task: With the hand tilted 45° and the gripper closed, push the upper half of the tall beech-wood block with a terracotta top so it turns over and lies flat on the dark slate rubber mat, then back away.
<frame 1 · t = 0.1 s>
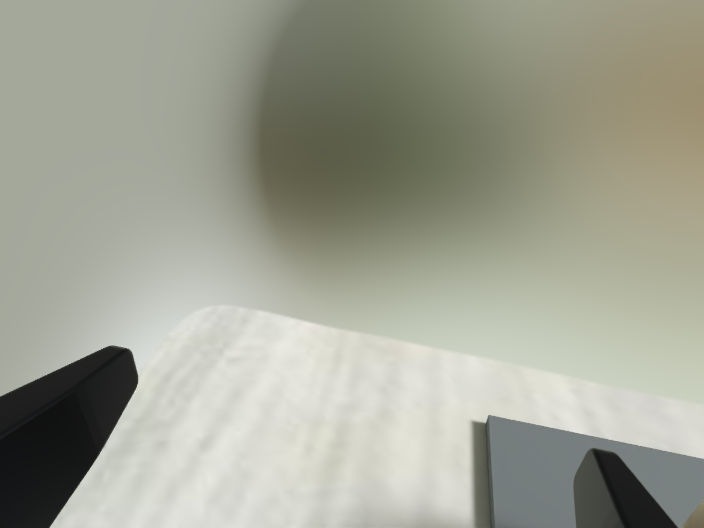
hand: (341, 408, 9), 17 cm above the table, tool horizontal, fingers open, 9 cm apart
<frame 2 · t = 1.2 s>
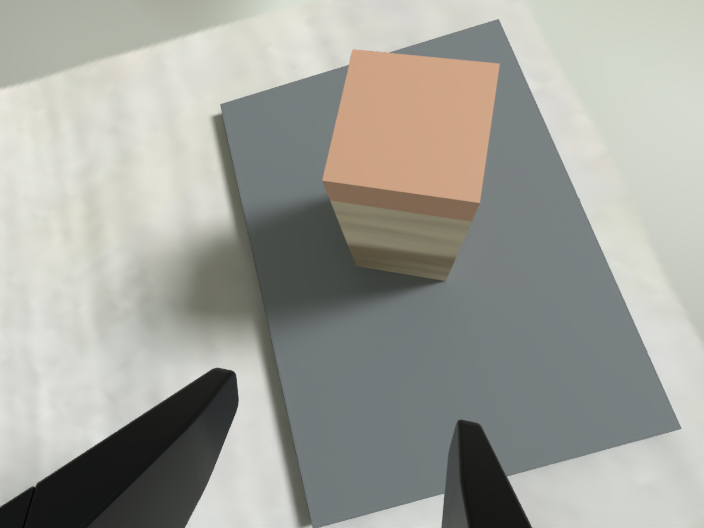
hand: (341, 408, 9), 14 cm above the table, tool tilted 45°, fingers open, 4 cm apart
slate mat: (416, 247, 24), on the table
beech block: (407, 230, 23), point 1 cm above the table, touching slate mat
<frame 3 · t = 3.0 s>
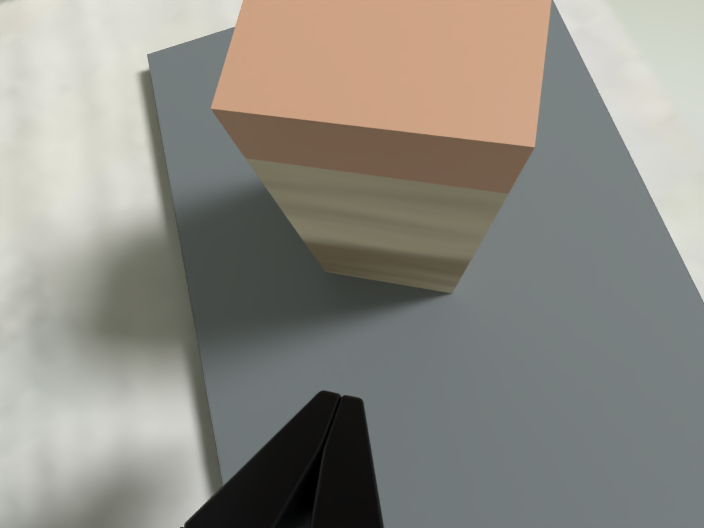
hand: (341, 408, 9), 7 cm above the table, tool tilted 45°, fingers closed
slate mat: (410, 245, 17), on the table
beech block: (398, 222, 16), point 1 cm above the table, touching slate mat
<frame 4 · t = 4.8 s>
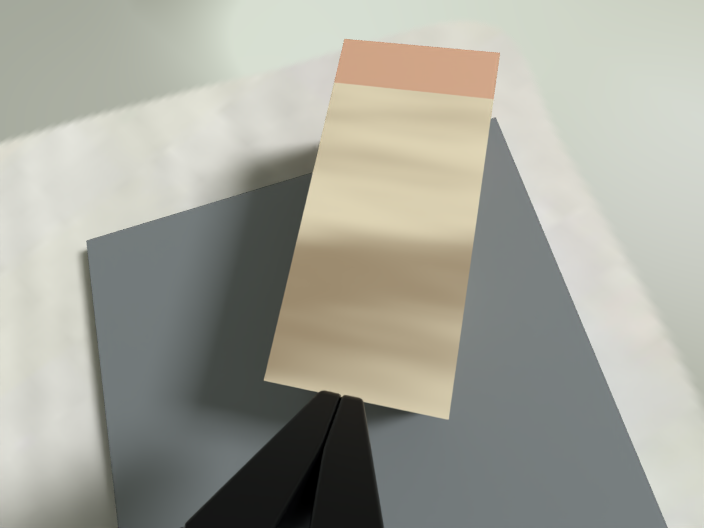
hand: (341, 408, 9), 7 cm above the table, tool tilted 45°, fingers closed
slate mat: (369, 485, 15), on the table
beech block: (361, 397, 13), point 3 cm above the table, tilted 90°, touching slate mat
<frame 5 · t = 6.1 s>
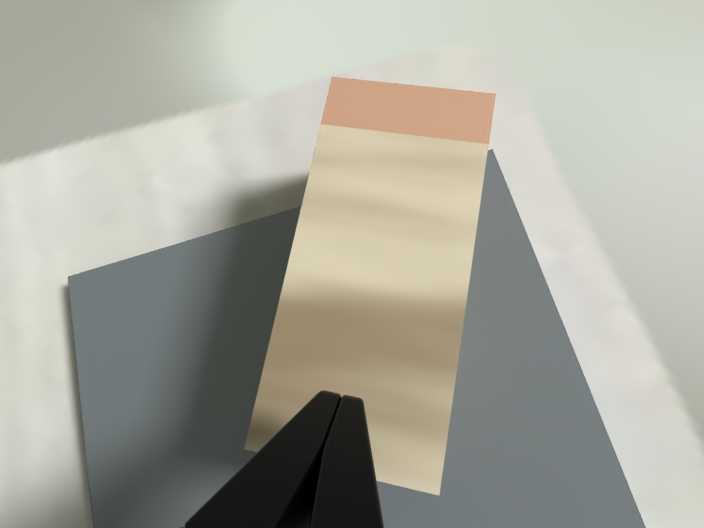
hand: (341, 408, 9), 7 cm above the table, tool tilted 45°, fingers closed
beech block: (349, 455, 12), point 3 cm above the table, tilted 90°, touching slate mat
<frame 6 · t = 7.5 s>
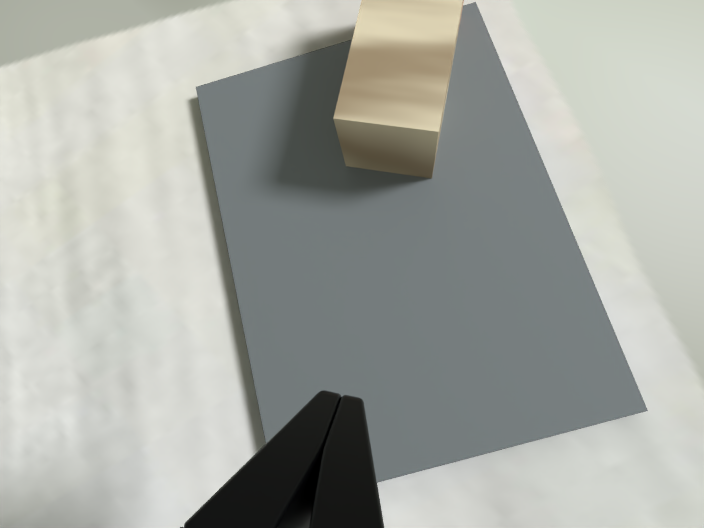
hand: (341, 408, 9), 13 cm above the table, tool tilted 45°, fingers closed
slate mat: (389, 230, 23), on the table
beech block: (386, 151, 21), point 3 cm above the table, tilted 90°, touching slate mat
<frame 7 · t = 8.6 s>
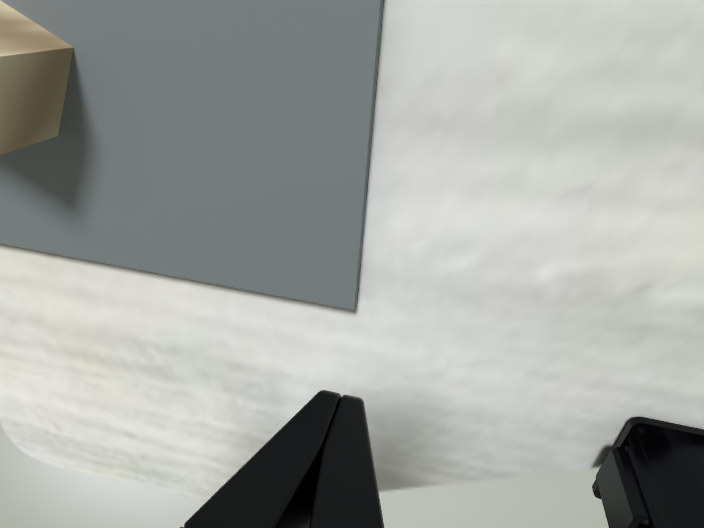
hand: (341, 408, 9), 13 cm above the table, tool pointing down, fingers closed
slate mat: (134, 114, 21), on the table
beech block: (24, 104, 19), point 3 cm above the table, tilted 90°, touching slate mat
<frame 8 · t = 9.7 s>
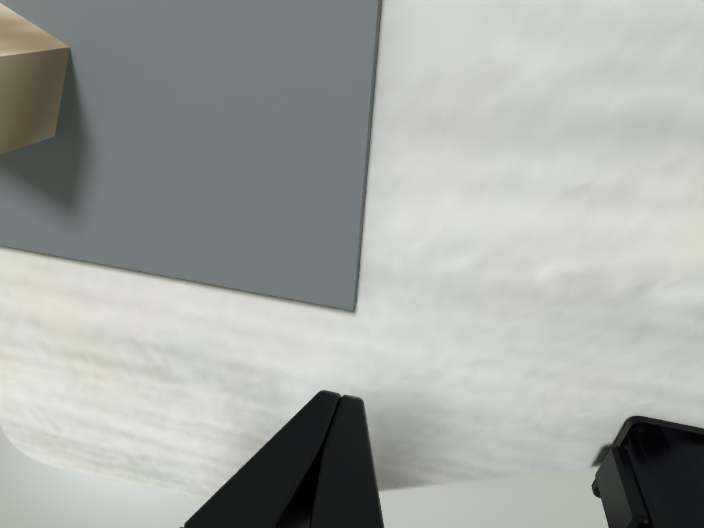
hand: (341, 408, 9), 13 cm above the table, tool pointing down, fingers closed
slate mat: (132, 115, 21), on the table
beech block: (20, 104, 19), point 3 cm above the table, tilted 90°, touching slate mat
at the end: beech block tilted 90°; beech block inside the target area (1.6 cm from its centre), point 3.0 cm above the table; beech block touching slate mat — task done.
